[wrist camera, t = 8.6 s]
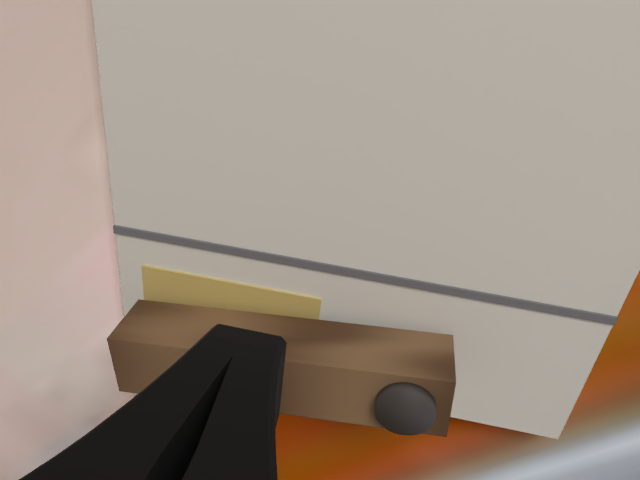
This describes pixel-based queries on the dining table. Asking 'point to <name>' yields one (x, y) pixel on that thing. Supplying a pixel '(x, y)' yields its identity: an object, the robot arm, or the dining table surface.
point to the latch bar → (308, 364)
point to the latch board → (387, 174)
